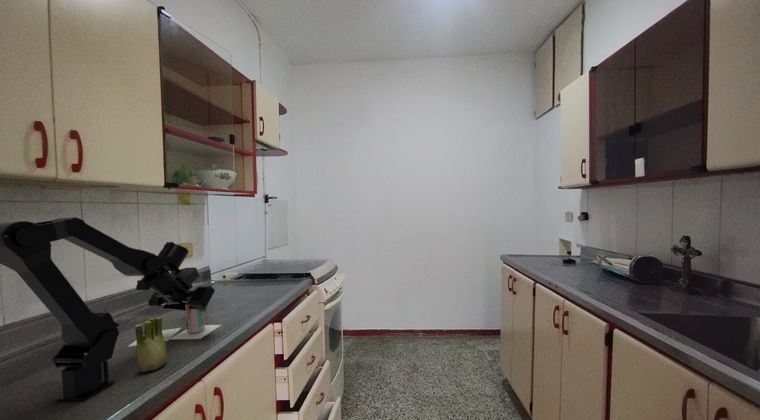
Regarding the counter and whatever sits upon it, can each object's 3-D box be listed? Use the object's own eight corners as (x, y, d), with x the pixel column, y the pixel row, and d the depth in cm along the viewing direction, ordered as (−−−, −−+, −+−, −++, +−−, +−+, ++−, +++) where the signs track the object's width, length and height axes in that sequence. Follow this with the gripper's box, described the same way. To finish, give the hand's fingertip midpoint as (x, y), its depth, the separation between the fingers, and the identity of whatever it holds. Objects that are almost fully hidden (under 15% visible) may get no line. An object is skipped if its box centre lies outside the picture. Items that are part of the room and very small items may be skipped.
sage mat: (167, 341, 87) (167, 340, 87) (128, 347, 85) (127, 346, 85) (181, 328, 97) (181, 327, 97) (146, 333, 94) (146, 332, 94)
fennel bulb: (138, 377, 67) (134, 325, 67) (136, 370, 71) (133, 320, 71) (169, 367, 71) (165, 318, 71) (165, 360, 75) (162, 313, 75)
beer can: (189, 330, 94) (186, 292, 94) (206, 327, 96) (203, 290, 96) (185, 335, 89) (182, 296, 89) (203, 332, 91) (200, 294, 91)
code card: (199, 338, 87) (199, 338, 87) (169, 339, 88) (169, 338, 88) (221, 325, 97) (221, 324, 97) (193, 326, 98) (193, 325, 98)
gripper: (208, 259, 87) (235, 286, 98) (154, 261, 90) (186, 287, 101) (188, 293, 79) (219, 319, 90) (130, 294, 83) (167, 319, 93)
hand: (198, 309), depth 94 cm, fingers closed on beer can, 5 cm apart
